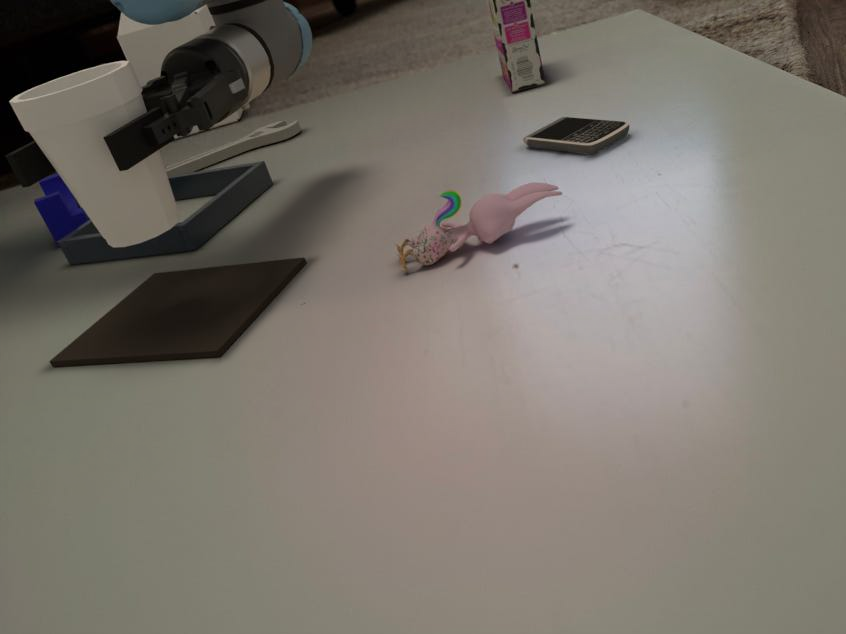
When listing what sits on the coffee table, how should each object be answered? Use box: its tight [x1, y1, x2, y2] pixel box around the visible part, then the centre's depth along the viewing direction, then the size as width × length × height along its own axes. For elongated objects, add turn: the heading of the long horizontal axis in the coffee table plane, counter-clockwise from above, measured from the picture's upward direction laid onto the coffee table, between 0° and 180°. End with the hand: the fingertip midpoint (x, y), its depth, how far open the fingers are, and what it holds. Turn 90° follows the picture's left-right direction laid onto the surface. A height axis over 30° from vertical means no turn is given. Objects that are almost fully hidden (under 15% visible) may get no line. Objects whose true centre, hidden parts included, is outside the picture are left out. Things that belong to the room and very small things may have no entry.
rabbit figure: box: [394, 181, 563, 274], centre depth 72 cm, size 6×6×15 cm
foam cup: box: [8, 60, 181, 247], centre depth 69 cm, size 10×9×13 cm
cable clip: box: [33, 173, 90, 248], centre depth 108 cm, size 12×4×6 cm, turn 23°
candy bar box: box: [486, 0, 546, 93], centre depth 113 cm, size 11×5×16 cm, turn 6°
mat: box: [49, 256, 307, 368], centre depth 77 cm, size 18×16×1 cm
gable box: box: [116, 4, 244, 140], centre depth 143 cm, size 22×13×28 cm, turn 9°
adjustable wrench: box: [164, 119, 302, 176], centre depth 122 cm, size 25×6×2 cm, turn 114°
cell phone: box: [522, 116, 630, 155], centre depth 90 cm, size 6×11×1 cm, turn 41°
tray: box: [58, 160, 274, 266], centre depth 100 cm, size 18×18×3 cm
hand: (65, 162), depth 65 cm, fingers closed on foam cup, 9 cm apart
